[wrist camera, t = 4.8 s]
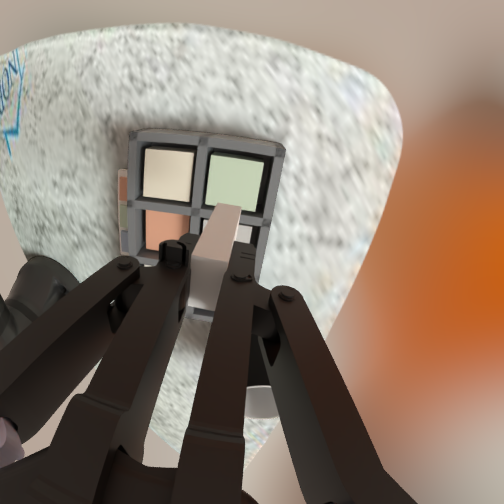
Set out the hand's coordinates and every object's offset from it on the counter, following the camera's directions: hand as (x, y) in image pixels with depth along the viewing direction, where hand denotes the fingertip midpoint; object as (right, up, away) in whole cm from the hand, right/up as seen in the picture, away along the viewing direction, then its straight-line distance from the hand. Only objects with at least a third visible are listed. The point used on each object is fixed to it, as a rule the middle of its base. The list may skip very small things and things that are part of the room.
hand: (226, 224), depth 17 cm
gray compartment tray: (-5, +2, +12) cm, 13 cm away
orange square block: (-7, +1, +11) cm, 13 cm away
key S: (-6, +6, +7) cm, 11 cm away
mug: (+3, -16, +22) cm, 28 cm away
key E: (0, +5, +8) cm, 9 cm away
